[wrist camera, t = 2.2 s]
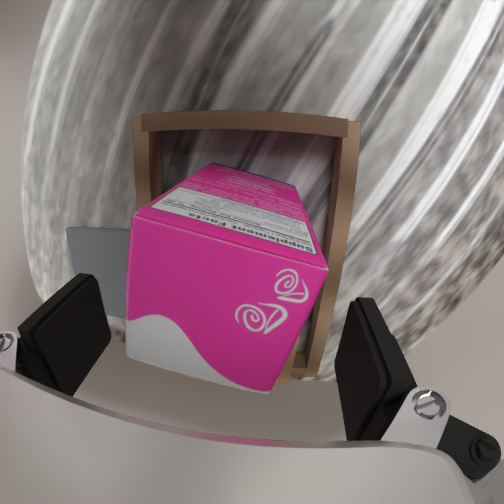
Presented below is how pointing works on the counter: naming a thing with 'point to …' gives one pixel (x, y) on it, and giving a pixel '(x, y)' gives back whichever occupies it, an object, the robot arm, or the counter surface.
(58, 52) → the counter surface
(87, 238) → the mat
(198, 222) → the supplement box
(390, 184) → the counter surface
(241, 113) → the wooden frame tray
